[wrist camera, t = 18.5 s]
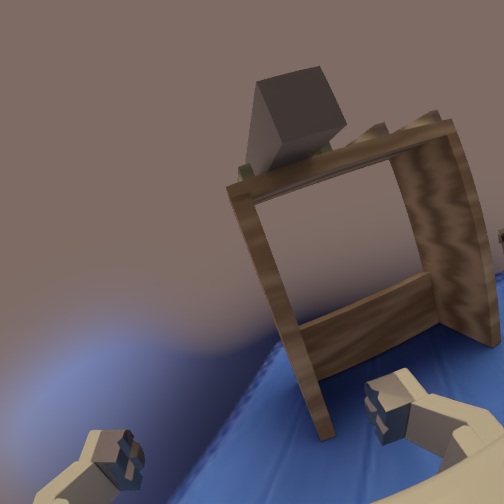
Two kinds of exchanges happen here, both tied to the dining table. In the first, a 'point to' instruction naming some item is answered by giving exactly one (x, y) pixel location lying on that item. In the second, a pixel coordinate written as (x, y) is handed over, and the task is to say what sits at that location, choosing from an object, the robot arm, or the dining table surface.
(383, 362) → the dining table surface
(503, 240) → the food container
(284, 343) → the pine shelf
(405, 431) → the robot arm
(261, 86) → the grey brown bar
